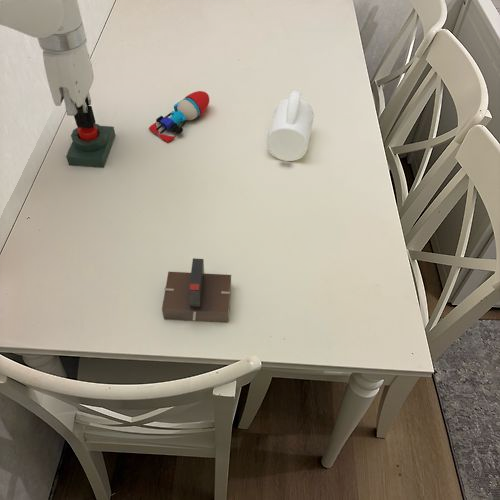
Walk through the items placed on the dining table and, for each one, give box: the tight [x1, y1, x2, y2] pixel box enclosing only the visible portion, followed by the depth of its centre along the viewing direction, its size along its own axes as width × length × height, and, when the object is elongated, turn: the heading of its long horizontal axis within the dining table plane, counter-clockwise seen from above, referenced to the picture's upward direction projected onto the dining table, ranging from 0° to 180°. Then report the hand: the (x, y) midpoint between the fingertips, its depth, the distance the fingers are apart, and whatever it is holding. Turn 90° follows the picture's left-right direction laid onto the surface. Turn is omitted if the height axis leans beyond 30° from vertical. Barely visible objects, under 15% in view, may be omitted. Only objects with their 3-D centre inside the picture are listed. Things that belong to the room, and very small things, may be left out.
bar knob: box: [188, 258, 205, 308], centre depth 73 cm, size 6×2×5 cm, turn 178°
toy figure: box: [148, 90, 210, 144], centre depth 103 cm, size 8×5×15 cm
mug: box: [266, 89, 315, 162], centre depth 97 cm, size 8×10×12 cm
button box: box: [65, 123, 116, 169], centre depth 97 cm, size 10×7×4 cm
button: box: [76, 123, 98, 141], centre depth 95 cm, size 4×4×2 cm
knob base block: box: [161, 271, 232, 323], centre depth 76 cm, size 10×10×3 cm
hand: (86, 125), depth 93 cm, fingers closed
